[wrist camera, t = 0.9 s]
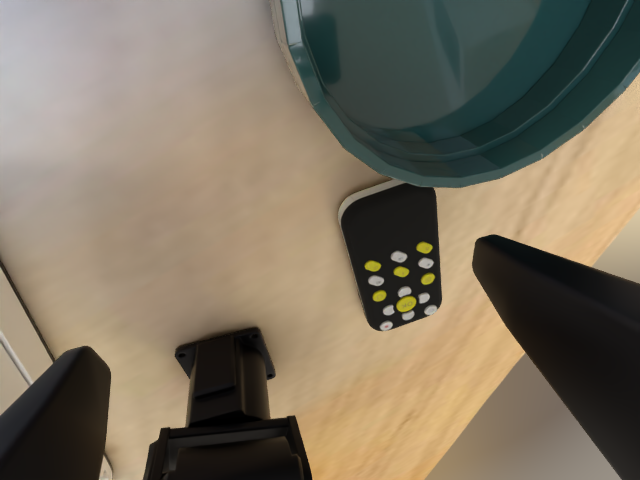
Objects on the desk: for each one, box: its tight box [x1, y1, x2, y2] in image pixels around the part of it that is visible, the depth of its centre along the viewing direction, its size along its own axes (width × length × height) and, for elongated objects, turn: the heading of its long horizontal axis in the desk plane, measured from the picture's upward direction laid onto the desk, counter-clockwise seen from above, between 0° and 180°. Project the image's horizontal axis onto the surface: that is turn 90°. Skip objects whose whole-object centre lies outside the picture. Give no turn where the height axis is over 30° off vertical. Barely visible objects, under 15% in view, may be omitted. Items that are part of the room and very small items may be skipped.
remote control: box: [338, 179, 442, 331], centre depth 24 cm, size 6×13×2 cm, turn 15°
